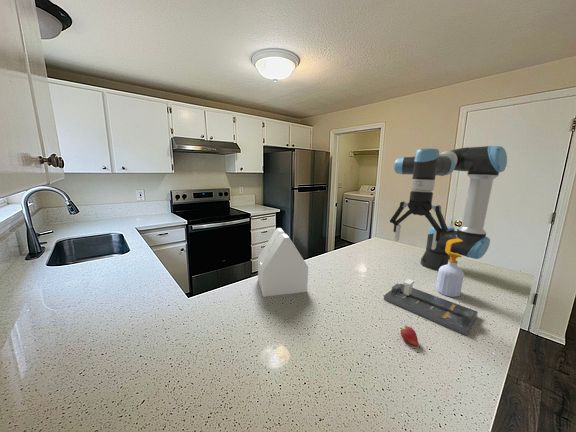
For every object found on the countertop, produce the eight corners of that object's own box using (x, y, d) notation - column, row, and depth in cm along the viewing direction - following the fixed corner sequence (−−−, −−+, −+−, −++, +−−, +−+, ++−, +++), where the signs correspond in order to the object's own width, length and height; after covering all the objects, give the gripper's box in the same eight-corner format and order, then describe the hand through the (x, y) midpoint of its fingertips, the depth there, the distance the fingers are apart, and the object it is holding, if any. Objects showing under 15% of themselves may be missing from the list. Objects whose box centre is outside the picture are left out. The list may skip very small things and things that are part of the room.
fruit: (412, 349, 70) (414, 335, 69) (395, 336, 75) (397, 323, 74) (422, 345, 72) (424, 331, 71) (405, 333, 77) (407, 319, 76)
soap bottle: (464, 298, 99) (474, 243, 94) (440, 296, 101) (449, 241, 96) (454, 288, 108) (463, 237, 103) (432, 286, 110) (440, 235, 105)
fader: (406, 290, 100) (408, 278, 99) (412, 292, 98) (414, 280, 97) (402, 294, 97) (403, 282, 96) (408, 296, 95) (409, 284, 94)
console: (400, 287, 107) (401, 279, 107) (476, 316, 87) (478, 306, 86) (383, 299, 97) (384, 290, 96) (466, 335, 77) (468, 324, 76)
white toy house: (263, 296, 97) (263, 238, 92) (258, 280, 111) (258, 228, 106) (307, 291, 102) (309, 236, 97) (296, 276, 116) (298, 227, 111)
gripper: (385, 188, 95) (379, 238, 100) (459, 194, 78) (448, 255, 82) (392, 188, 101) (387, 235, 105) (463, 193, 83) (453, 250, 87)
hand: (414, 244), depth 93 cm, fingers open, 13 cm apart
